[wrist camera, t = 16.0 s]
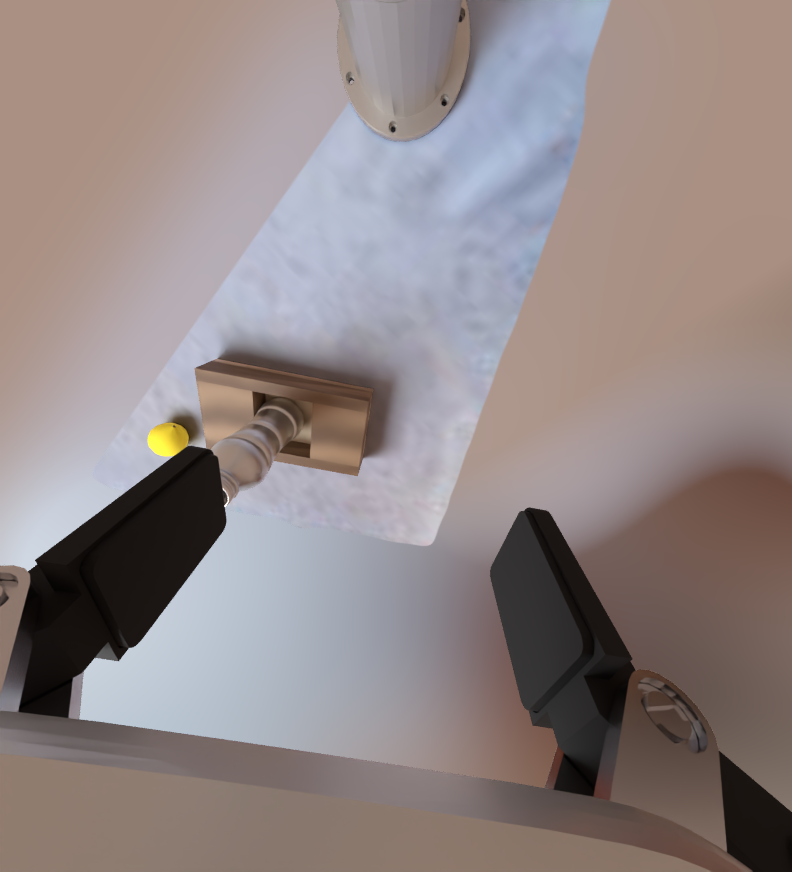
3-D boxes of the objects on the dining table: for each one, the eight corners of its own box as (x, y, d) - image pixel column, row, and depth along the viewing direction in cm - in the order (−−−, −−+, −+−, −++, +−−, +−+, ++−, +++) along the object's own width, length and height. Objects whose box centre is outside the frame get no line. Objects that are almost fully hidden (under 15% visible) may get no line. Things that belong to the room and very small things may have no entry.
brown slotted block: (217, 358, 45) (194, 368, 40) (373, 389, 46) (368, 401, 41) (225, 433, 51) (206, 448, 46) (362, 458, 52) (357, 476, 47)
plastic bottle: (289, 438, 49) (220, 528, 32) (257, 409, 47) (164, 488, 29) (316, 417, 47) (257, 501, 30) (284, 385, 45) (200, 455, 27)
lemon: (189, 450, 54) (166, 469, 49) (161, 432, 52) (134, 450, 48) (202, 428, 50) (178, 446, 46) (171, 408, 49) (143, 425, 44)
